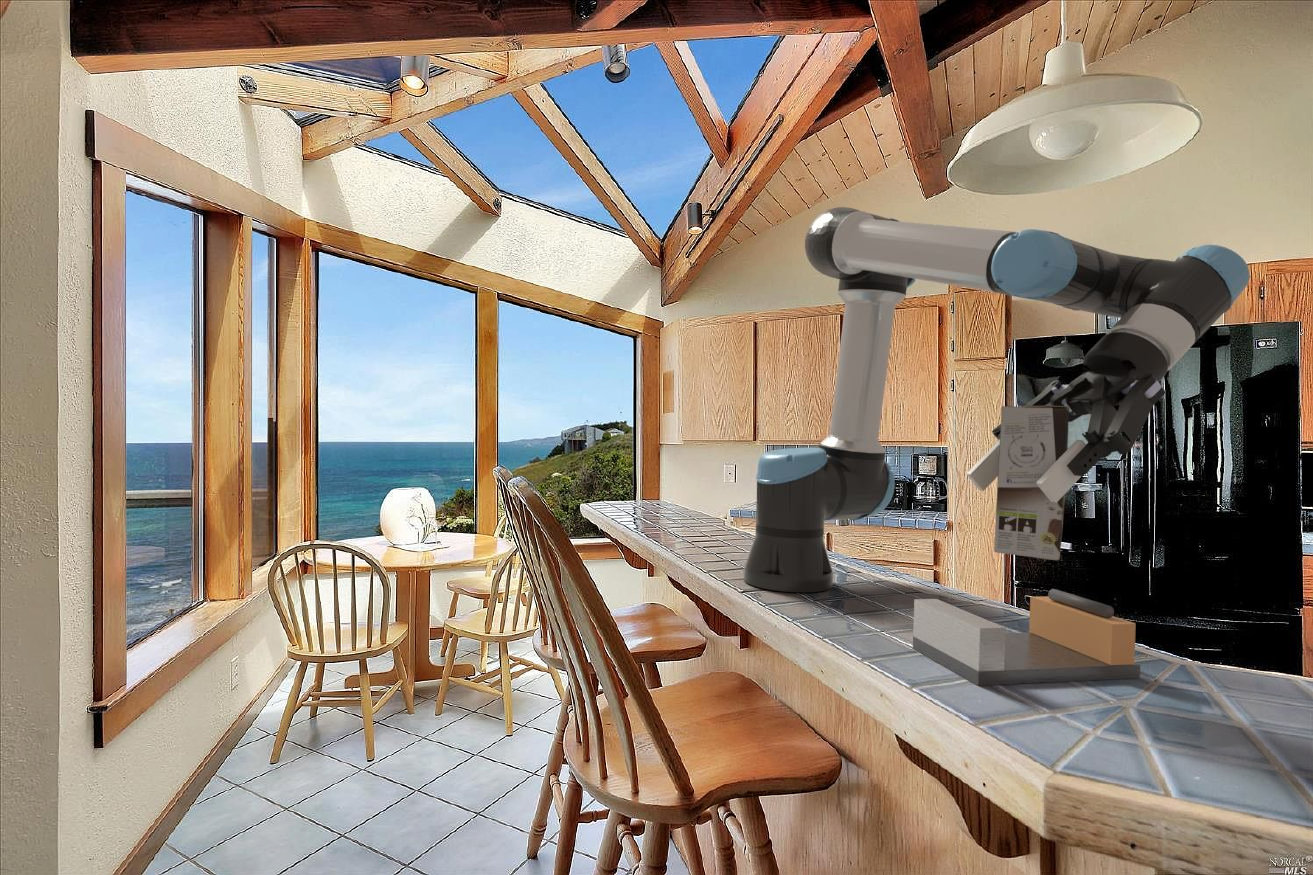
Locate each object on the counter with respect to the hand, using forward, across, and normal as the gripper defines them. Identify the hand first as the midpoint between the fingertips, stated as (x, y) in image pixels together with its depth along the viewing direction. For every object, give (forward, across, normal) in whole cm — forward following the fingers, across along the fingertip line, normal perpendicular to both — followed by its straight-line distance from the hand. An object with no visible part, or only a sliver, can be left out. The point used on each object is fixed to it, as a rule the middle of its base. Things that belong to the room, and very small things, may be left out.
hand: (1007, 487), depth 73 cm
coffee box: (+3, 0, -7) cm, 8 cm away
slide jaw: (+5, +2, -22) cm, 23 cm away
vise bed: (+11, +2, -18) cm, 21 cm away
